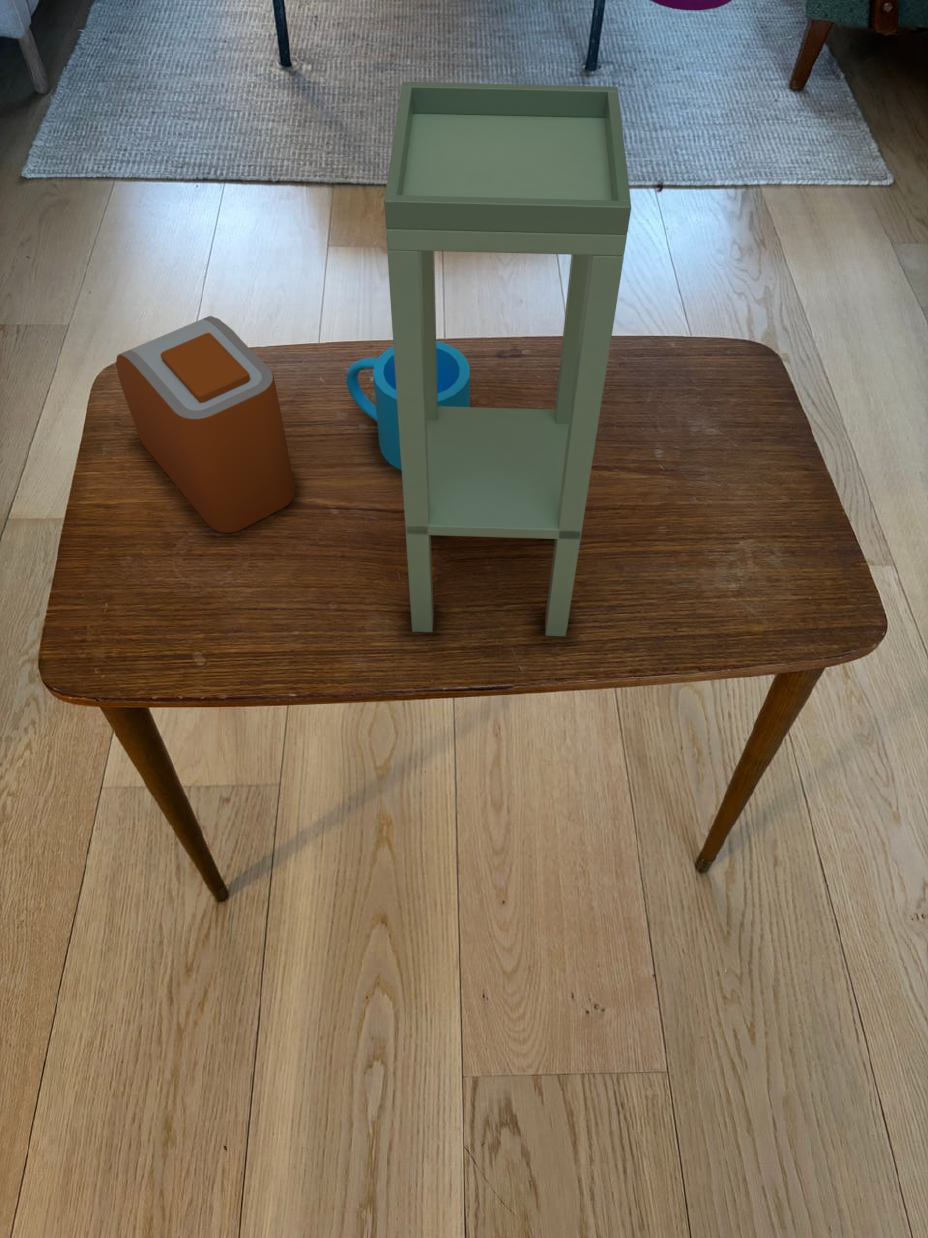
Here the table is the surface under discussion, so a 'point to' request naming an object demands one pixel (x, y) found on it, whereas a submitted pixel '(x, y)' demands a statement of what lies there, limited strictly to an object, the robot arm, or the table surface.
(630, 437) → the table surface
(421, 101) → the stand
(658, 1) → the decorative egg
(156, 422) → the alarm clock
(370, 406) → the mug
